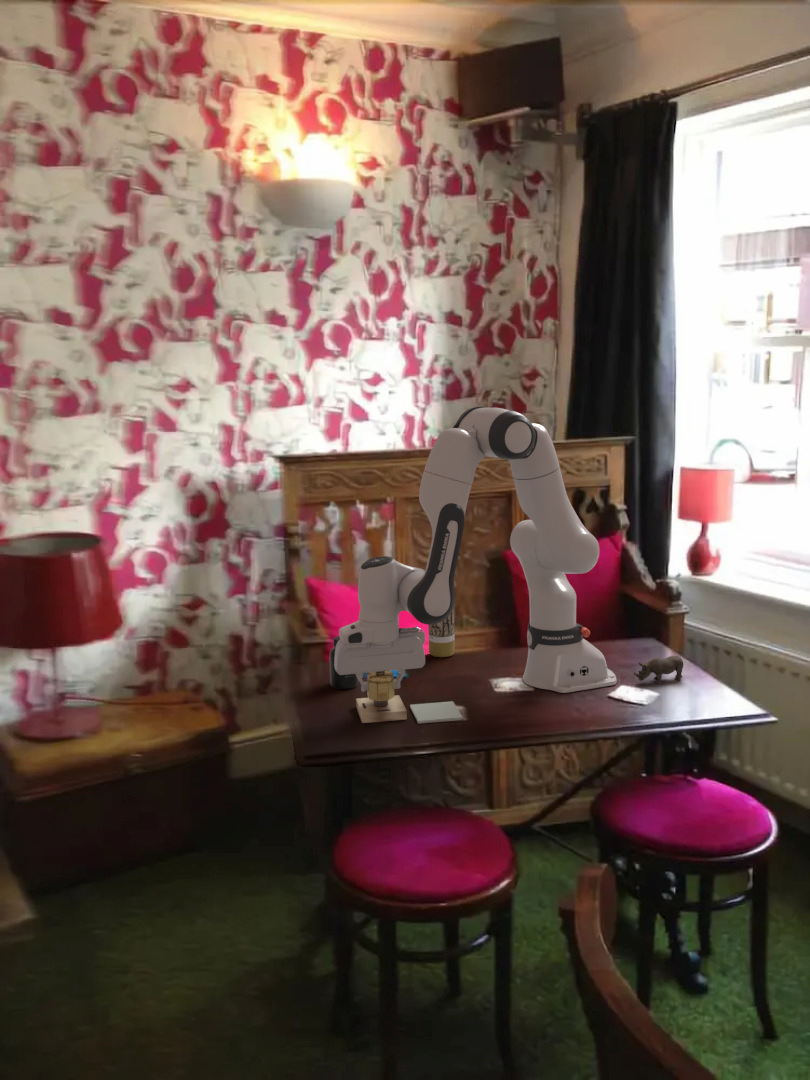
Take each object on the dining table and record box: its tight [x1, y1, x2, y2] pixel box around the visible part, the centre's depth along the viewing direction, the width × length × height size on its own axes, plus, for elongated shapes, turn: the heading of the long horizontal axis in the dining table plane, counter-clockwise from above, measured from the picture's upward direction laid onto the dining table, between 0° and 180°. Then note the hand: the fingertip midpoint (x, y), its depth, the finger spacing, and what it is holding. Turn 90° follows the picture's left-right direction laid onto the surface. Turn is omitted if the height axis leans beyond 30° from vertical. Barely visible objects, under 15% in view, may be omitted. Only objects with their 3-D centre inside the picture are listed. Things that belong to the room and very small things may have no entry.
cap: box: [366, 671, 395, 701], centre depth 227 cm, size 6×7×6 cm
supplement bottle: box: [329, 635, 359, 690], centre depth 246 cm, size 7×7×12 cm
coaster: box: [409, 700, 464, 725], centre depth 228 cm, size 10×10×1 cm
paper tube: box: [428, 606, 456, 658], centre depth 266 cm, size 7×7×25 cm
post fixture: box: [355, 694, 408, 724], centre depth 228 cm, size 10×10×8 cm
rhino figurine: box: [633, 655, 684, 684], centre depth 245 cm, size 4×14×6 cm, turn 107°
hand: (380, 689), depth 228 cm, fingers closed on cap, 6 cm apart
